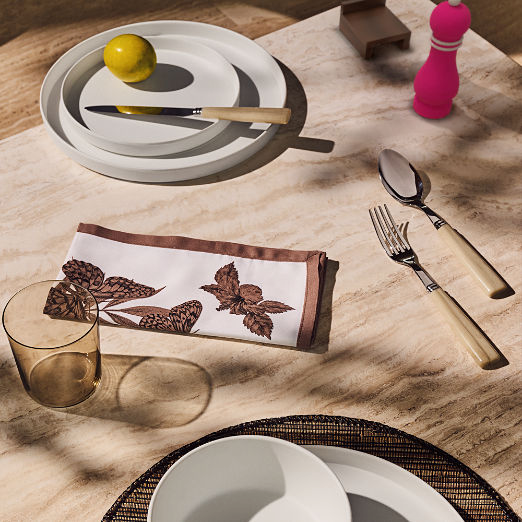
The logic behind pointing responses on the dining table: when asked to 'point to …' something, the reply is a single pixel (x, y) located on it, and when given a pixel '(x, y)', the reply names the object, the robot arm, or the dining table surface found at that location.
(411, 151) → the dining table surface
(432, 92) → the pepper mill
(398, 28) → the shelf
